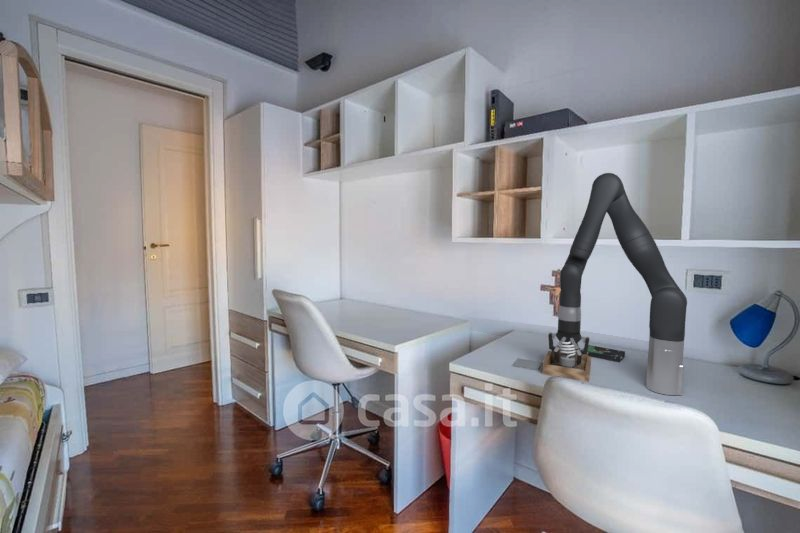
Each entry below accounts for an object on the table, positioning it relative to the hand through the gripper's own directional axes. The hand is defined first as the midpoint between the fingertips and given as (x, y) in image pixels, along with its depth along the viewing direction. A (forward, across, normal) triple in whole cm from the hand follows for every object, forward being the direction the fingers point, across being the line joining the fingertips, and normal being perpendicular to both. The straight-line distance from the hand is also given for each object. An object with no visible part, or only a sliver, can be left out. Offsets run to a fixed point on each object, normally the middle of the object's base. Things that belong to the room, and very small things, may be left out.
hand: (567, 362), depth 141 cm
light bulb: (+3, 0, 0) cm, 3 cm away
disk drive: (+4, -11, -28) cm, 30 cm away
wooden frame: (+3, 0, 0) cm, 3 cm away
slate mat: (+3, +14, 0) cm, 14 cm away
